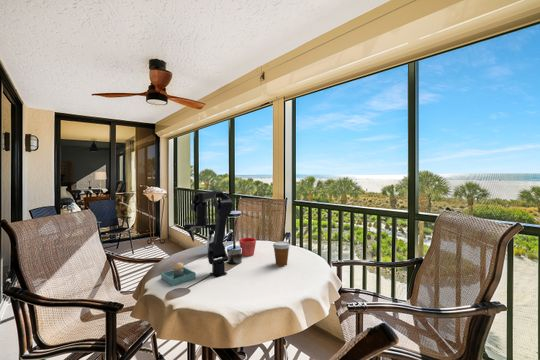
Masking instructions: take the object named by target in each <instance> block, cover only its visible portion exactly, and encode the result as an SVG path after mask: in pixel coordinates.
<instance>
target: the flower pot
mask: <svg viewBox="0 0 540 360" xmlns="http://www.w3.org/2000/svg"><path fill="white" fill-rule="evenodd" d="M238 243H239V248H240V247H241V248H242V254H241V256H242V255H243V256H242V257H251V256H254V254H255V251H256V250H255V249H256V244H257V239H256V238H253V237H244V238H240V239H239V240H238Z"/></svg>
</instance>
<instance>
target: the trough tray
mask: <svg viewBox="0 0 540 360" xmlns="http://www.w3.org/2000/svg"><path fill="white" fill-rule="evenodd" d="M160 276H161V277H160V279H161V280H162V282H164V283H166V284H168V285H169V286H171V287H174V286H178V285H181V284H184V283H188V282H190V281H193V280H196V279H197V277H196V276H197V274H196V272H195V271H193V270H191V269H189V268H187V267H185V266H183V276H181V277H178V278H175V279H174V269H172V270H167V271H164V272H161V273H160Z"/></svg>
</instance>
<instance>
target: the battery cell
mask: <svg viewBox="0 0 540 360" xmlns="http://www.w3.org/2000/svg"><path fill="white" fill-rule="evenodd" d="M183 267H184V262H175V263H174V264H173V270H174V279H175V278H178V277H181V276H183Z"/></svg>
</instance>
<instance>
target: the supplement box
mask: <svg viewBox="0 0 540 360" xmlns="http://www.w3.org/2000/svg"><path fill="white" fill-rule="evenodd" d="M213 240H214V233H213V234H212V237H211V240H210V242H209V234H207V237H206V241H207V242H206V252H207V253H208V248H209V243H212V242H213ZM207 253H206V254H207ZM207 256H208V254H207Z"/></svg>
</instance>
